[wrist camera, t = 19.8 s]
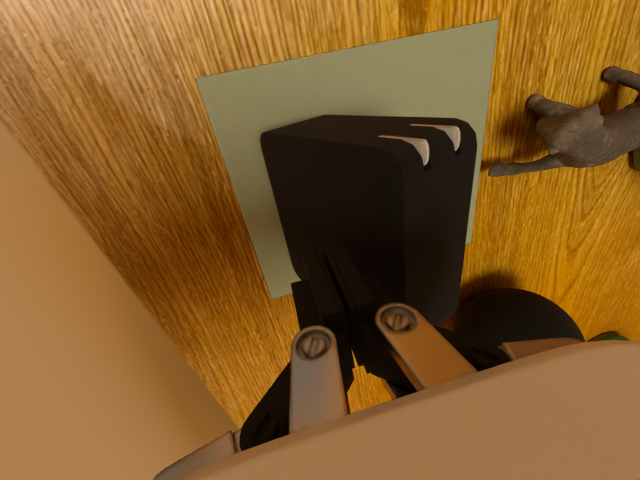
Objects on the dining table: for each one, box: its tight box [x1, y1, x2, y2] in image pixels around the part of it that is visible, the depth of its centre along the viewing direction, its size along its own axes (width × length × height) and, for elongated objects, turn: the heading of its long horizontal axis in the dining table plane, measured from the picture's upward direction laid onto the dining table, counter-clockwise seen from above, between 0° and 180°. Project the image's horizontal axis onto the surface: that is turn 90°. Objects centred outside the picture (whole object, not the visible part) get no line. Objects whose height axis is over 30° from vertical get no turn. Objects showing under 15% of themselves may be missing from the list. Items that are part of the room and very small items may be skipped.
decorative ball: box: [454, 288, 585, 347], centre depth 26 cm, size 10×10×10 cm
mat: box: [195, 19, 499, 299], centre depth 20 cm, size 18×16×1 cm
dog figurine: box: [488, 66, 640, 177], centre depth 18 cm, size 12×6×7 cm, turn 100°
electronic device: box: [260, 115, 477, 327], centre depth 15 cm, size 4×10×10 cm, turn 10°
